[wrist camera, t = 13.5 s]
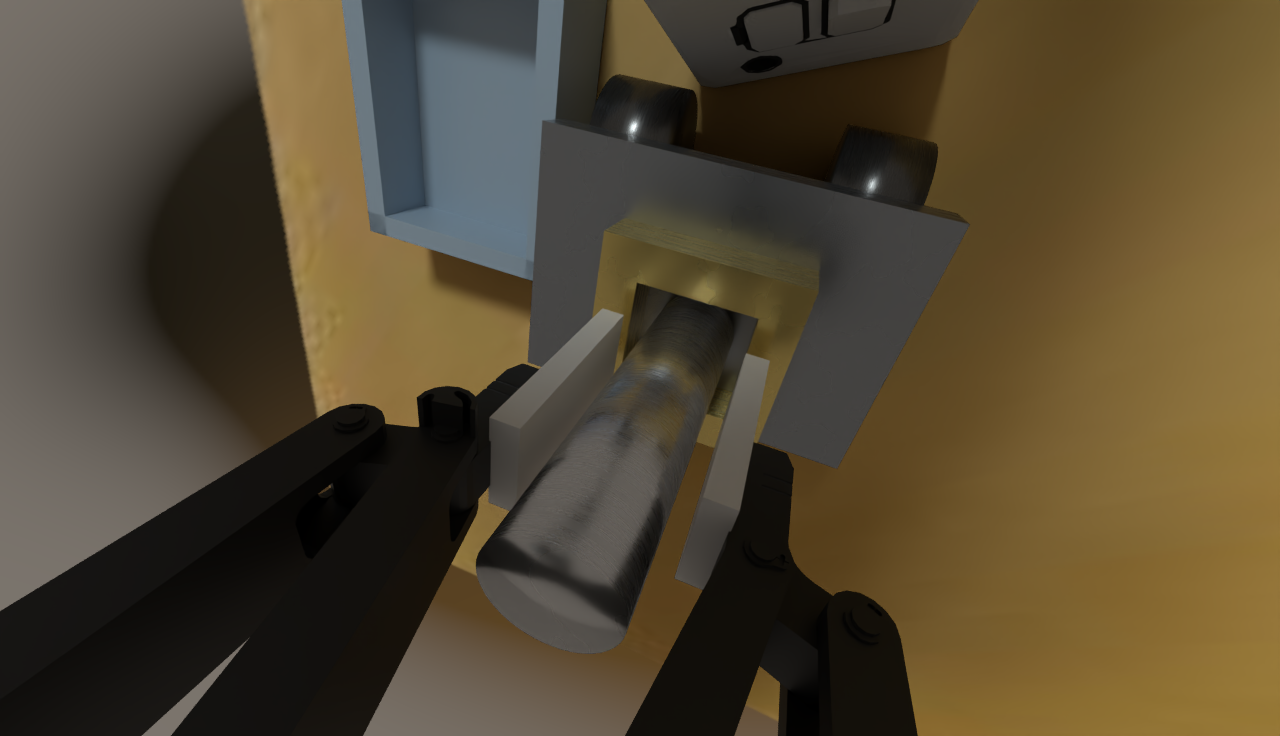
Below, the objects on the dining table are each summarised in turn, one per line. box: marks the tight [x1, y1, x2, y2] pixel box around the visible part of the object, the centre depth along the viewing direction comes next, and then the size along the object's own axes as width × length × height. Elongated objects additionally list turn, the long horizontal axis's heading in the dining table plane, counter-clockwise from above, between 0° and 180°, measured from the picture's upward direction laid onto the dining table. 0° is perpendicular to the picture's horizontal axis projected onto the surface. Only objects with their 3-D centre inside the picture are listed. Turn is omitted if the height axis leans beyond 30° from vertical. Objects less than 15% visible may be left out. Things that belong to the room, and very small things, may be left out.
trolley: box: [528, 74, 970, 469], centre depth 20 cm, size 13×14×9 cm
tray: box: [342, 0, 607, 281], centre depth 22 cm, size 13×10×4 cm
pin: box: [476, 296, 734, 654], centre depth 14 cm, size 3×3×12 cm
